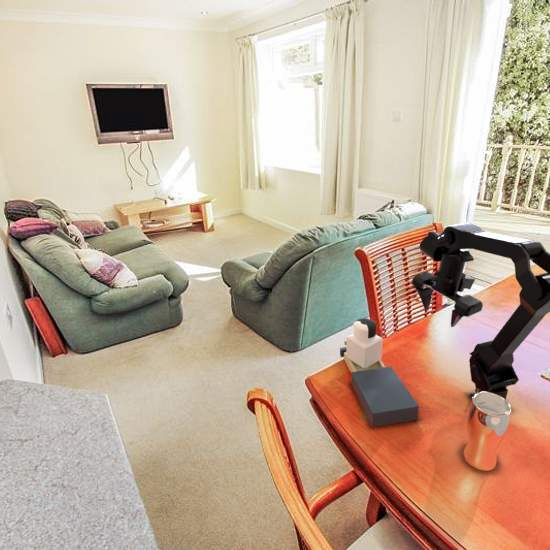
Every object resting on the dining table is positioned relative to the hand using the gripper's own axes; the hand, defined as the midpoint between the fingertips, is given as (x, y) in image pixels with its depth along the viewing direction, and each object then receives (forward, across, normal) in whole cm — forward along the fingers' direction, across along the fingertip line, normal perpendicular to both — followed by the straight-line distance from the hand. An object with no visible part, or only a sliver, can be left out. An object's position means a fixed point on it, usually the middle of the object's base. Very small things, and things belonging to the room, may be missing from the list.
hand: (439, 317), depth 105 cm
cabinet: (+12, -8, +26) cm, 29 cm away
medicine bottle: (+10, +5, +21) cm, 24 cm away
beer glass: (+9, -31, +20) cm, 38 cm away
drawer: (+13, +6, +21) cm, 25 cm away
